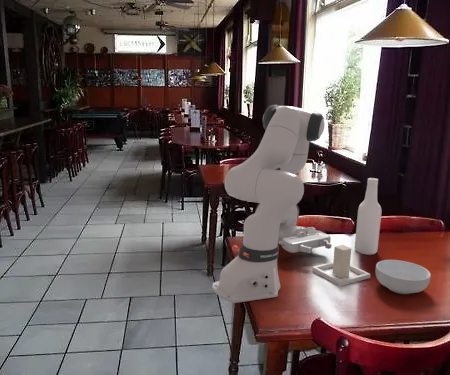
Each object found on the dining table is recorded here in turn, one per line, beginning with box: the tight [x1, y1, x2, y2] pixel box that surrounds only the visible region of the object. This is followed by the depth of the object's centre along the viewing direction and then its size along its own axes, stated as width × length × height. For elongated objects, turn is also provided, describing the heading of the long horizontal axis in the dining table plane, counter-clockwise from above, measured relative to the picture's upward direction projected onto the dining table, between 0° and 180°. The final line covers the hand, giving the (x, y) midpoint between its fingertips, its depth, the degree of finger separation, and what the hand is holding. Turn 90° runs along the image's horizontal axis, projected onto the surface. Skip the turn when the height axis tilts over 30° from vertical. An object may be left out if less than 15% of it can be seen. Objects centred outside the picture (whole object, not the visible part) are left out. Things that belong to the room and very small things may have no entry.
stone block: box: [331, 244, 352, 278], centre depth 152 cm, size 4×4×10 cm
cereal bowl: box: [374, 259, 432, 295], centre depth 143 cm, size 17×17×7 cm
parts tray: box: [311, 261, 371, 287], centre depth 153 cm, size 14×14×2 cm
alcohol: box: [354, 177, 383, 256], centre depth 173 cm, size 9×9×30 cm
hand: (320, 248), depth 161 cm, fingers open, 8 cm apart
